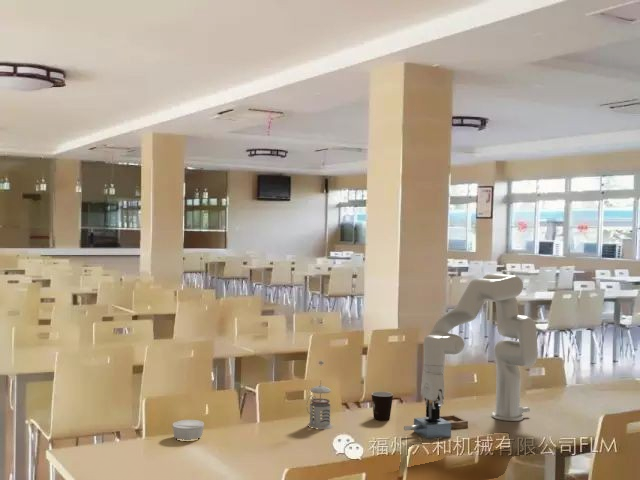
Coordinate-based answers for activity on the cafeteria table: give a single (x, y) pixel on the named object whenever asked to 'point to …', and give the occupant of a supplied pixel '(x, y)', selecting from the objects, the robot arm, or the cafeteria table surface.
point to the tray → (455, 421)
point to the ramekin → (188, 429)
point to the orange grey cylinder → (430, 412)
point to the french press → (320, 408)
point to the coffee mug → (382, 405)
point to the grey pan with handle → (430, 428)
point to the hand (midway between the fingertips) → (432, 417)
